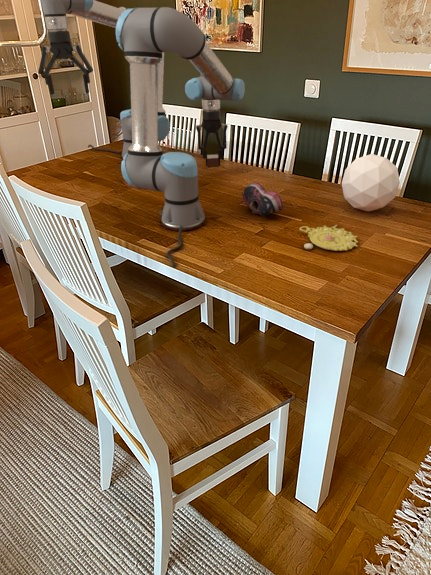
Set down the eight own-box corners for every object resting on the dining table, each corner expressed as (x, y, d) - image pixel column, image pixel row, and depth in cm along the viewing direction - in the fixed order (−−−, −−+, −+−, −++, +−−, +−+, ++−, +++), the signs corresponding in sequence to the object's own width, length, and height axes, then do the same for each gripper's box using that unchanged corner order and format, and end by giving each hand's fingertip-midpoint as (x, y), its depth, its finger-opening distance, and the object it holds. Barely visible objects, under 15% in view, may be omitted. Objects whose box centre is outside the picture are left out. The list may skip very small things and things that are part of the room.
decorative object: (343, 255, 128) (285, 234, 139) (342, 262, 130) (284, 241, 140) (372, 230, 142) (317, 213, 152) (371, 237, 143) (316, 219, 153)
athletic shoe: (254, 181, 170) (227, 189, 167) (283, 176, 151) (253, 185, 147) (260, 210, 173) (234, 218, 170) (290, 209, 154) (261, 219, 150)
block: (207, 164, 199) (207, 154, 196) (218, 163, 199) (218, 154, 196) (207, 167, 194) (207, 158, 192) (218, 167, 194) (218, 157, 192)
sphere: (373, 230, 162) (391, 201, 143) (326, 202, 166) (337, 171, 147) (398, 193, 166) (419, 160, 148) (352, 167, 171) (366, 133, 152)
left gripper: (20, 32, 158) (35, 96, 169) (90, 29, 158) (100, 93, 169) (27, 31, 164) (40, 92, 175) (94, 28, 164) (103, 90, 176)
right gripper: (189, 112, 180) (192, 168, 193) (233, 110, 181) (233, 166, 193) (189, 108, 187) (192, 163, 199) (232, 107, 187) (232, 161, 199)
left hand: (70, 93), depth 172 cm, fingers open, 13 cm apart
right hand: (212, 164), depth 196 cm, fingers closed on block, 5 cm apart
